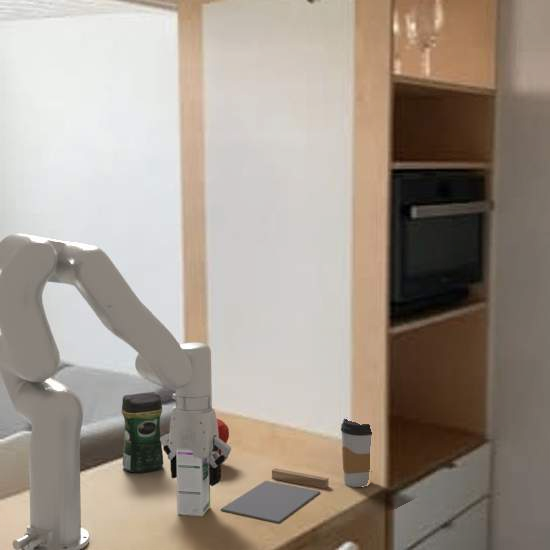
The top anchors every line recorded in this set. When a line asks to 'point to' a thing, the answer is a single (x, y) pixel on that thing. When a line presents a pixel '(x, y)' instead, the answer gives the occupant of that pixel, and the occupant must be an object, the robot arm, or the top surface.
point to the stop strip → (300, 478)
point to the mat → (271, 501)
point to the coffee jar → (142, 432)
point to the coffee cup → (356, 453)
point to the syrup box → (192, 483)
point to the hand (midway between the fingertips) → (195, 480)
